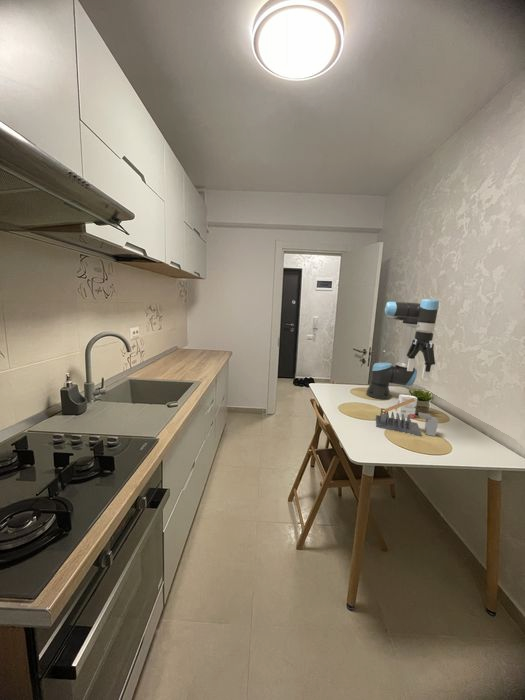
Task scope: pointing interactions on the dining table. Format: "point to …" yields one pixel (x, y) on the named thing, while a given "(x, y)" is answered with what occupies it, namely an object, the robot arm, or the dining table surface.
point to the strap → (398, 405)
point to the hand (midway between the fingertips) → (417, 374)
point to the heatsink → (397, 423)
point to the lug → (429, 423)
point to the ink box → (407, 406)
